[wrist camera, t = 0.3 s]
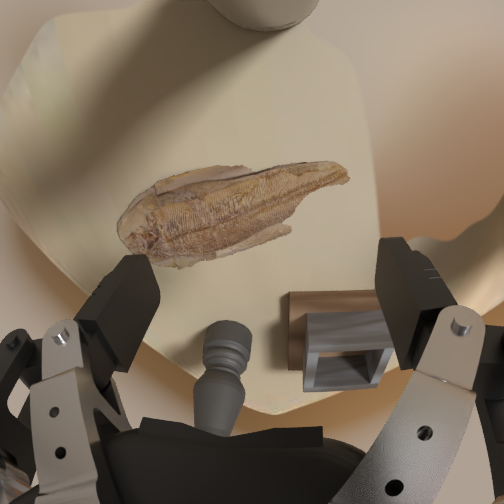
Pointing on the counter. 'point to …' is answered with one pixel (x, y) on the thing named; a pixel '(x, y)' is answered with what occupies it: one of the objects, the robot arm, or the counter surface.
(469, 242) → the counter surface
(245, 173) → the fish fossil
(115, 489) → the robot arm
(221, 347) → the candle holder
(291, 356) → the collar socket
